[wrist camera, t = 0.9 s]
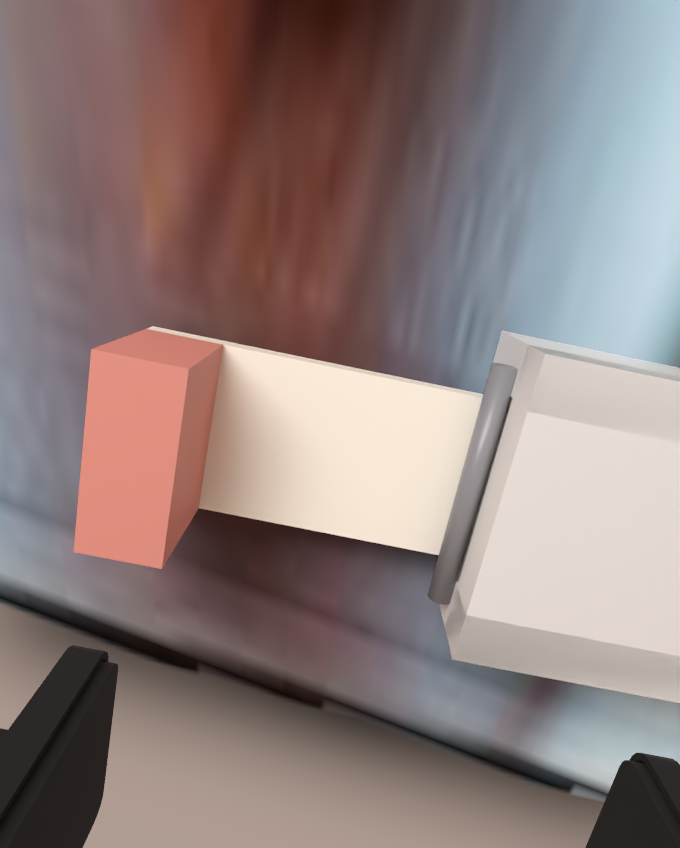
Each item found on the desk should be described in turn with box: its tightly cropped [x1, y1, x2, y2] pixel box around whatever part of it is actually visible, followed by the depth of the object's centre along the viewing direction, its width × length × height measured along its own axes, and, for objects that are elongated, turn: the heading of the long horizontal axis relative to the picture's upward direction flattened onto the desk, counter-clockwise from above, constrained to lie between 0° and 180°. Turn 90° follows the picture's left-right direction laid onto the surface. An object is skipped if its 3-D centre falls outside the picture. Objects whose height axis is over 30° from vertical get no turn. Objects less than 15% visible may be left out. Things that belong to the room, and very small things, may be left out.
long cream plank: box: [74, 326, 512, 569], centre depth 22 cm, size 26×7×6 cm, turn 78°
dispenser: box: [428, 331, 680, 703], centre depth 24 cm, size 15×12×6 cm
